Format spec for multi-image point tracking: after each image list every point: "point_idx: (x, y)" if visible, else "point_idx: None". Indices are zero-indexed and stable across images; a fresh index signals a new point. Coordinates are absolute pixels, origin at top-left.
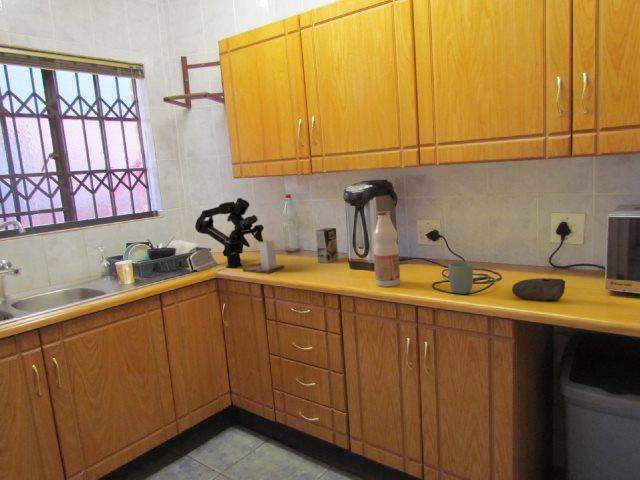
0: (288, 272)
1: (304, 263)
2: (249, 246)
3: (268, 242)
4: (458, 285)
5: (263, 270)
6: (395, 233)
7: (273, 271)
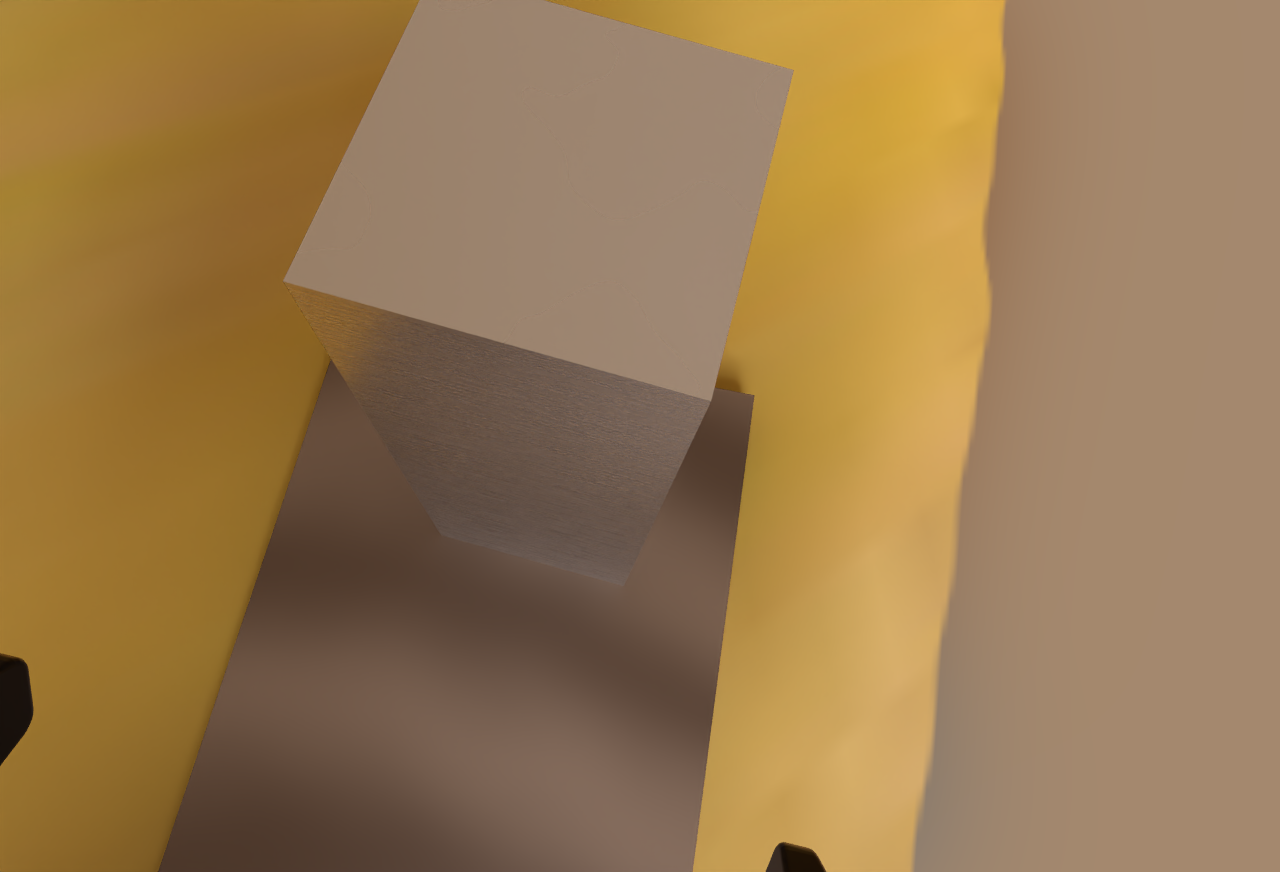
0: None
1: (44, 156)
2: (772, 864)
3: (690, 55)
4: None
5: (721, 489)
6: None
7: None
